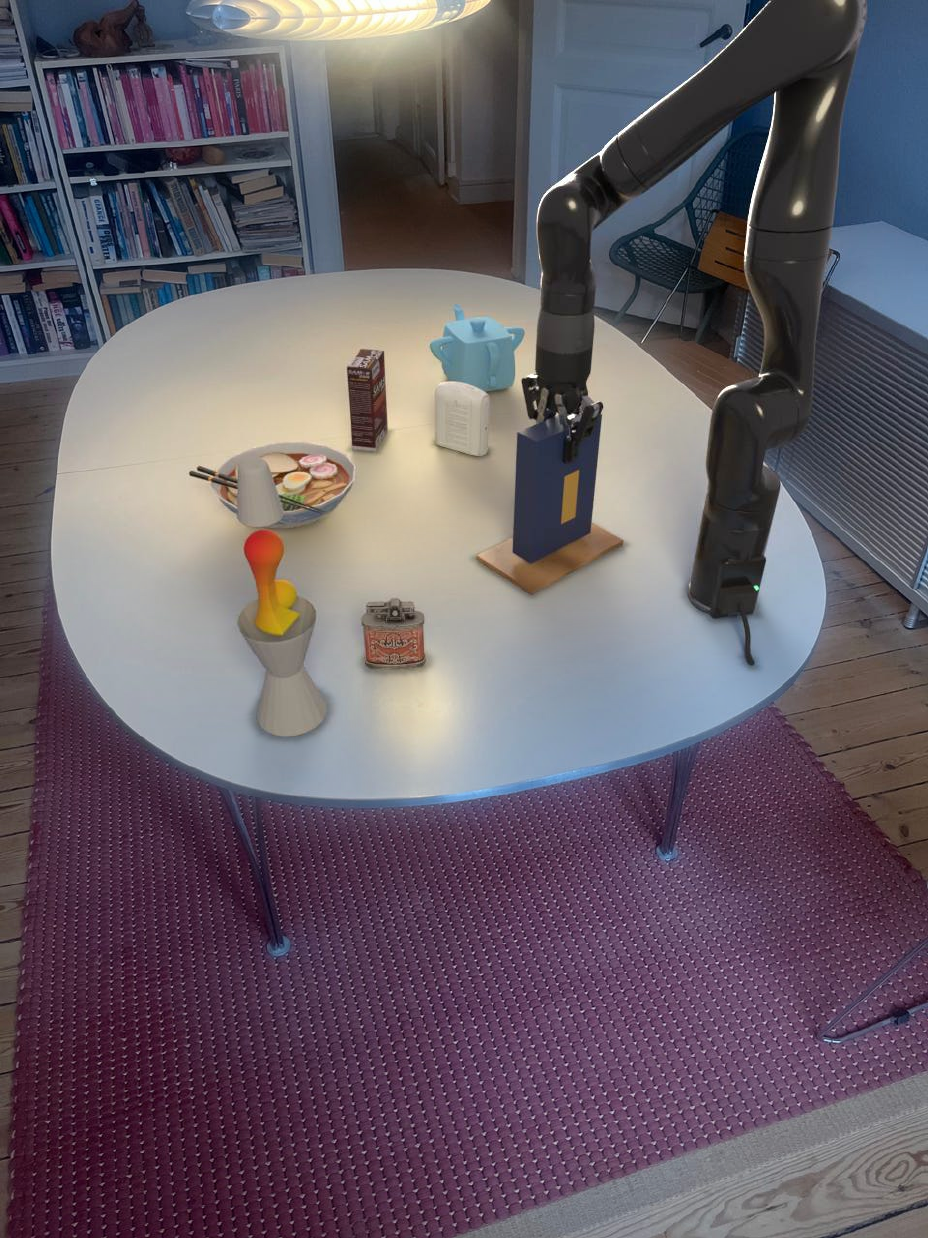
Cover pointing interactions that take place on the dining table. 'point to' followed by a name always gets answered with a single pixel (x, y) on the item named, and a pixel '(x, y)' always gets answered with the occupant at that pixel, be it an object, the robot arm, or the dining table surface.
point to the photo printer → (462, 418)
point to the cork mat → (548, 559)
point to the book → (552, 490)
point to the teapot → (478, 351)
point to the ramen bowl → (291, 479)
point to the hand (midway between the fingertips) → (557, 455)
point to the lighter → (393, 635)
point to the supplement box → (367, 400)
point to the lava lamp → (275, 613)
